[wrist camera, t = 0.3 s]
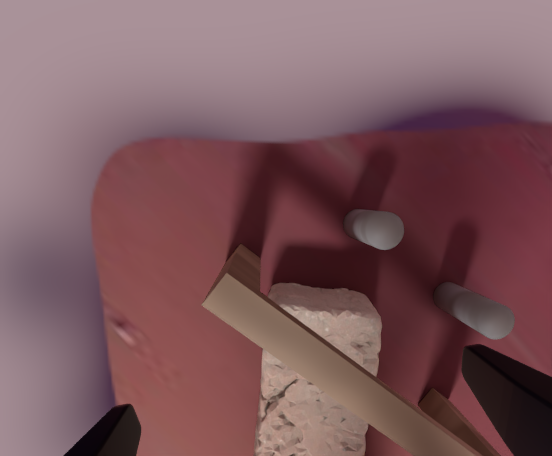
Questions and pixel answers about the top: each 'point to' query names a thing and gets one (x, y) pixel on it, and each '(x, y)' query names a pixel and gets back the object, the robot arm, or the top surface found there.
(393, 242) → the shelf frame
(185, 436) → the top surface
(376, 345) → the brick
